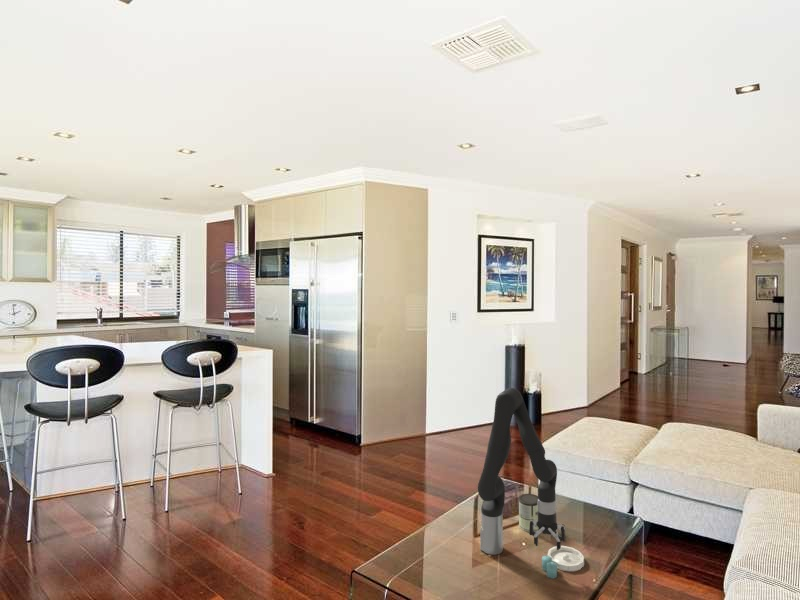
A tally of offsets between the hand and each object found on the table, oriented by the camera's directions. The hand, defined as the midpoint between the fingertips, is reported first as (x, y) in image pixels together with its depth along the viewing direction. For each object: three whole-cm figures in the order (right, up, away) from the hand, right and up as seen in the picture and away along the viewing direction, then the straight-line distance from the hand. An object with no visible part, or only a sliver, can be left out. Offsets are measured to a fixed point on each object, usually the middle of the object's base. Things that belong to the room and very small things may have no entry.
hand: (547, 547), depth 216 cm
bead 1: (0, -10, +1) cm, 10 cm away
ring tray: (+10, -9, +6) cm, 14 cm away
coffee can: (+1, -7, +34) cm, 35 cm away
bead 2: (+1, -10, -3) cm, 11 cm away
